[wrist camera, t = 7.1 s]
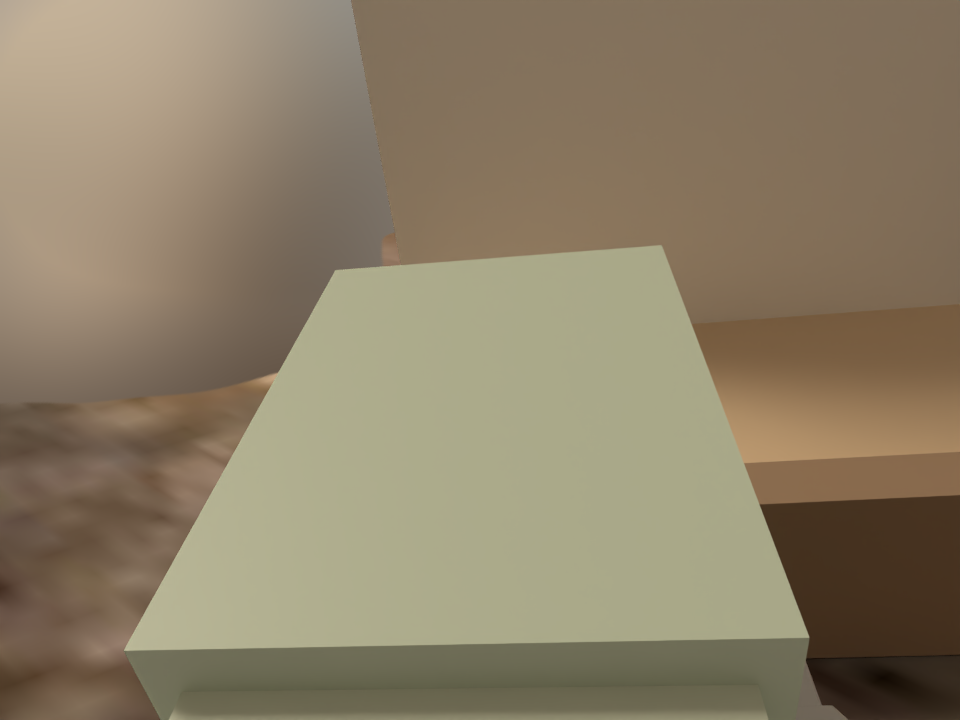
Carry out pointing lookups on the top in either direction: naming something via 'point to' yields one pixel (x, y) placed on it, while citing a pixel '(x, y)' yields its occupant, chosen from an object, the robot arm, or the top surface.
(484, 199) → the wall board
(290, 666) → the cabinet
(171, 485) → the top surface
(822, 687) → the top surface
